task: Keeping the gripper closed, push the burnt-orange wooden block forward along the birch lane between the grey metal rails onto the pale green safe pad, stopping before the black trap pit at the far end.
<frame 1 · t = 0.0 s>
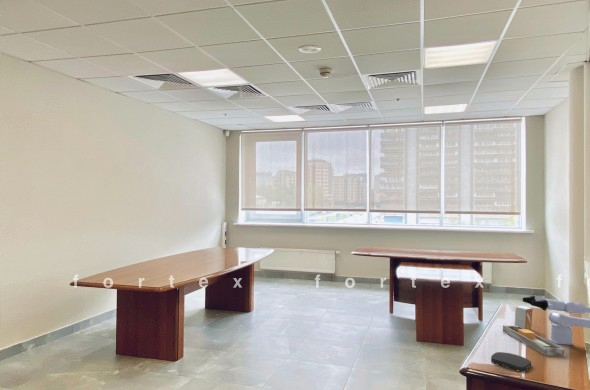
hand: (527, 301, 217), 22 cm above the table, tool horizontal, fingers open, 7 cm apart
orange block: (526, 336, 218), point 2 cm above the table, touching trap lane
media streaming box: (510, 364, 183), on the table
small box: (522, 329, 240), on the table
trap lane: (530, 342, 214), on the table
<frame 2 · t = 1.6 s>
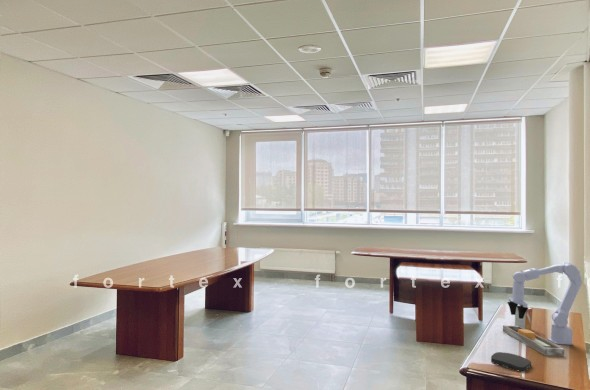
hand: (517, 316, 227), 10 cm above the table, tool pointing down, fingers open, 7 cm apart
nothing on the table moved.
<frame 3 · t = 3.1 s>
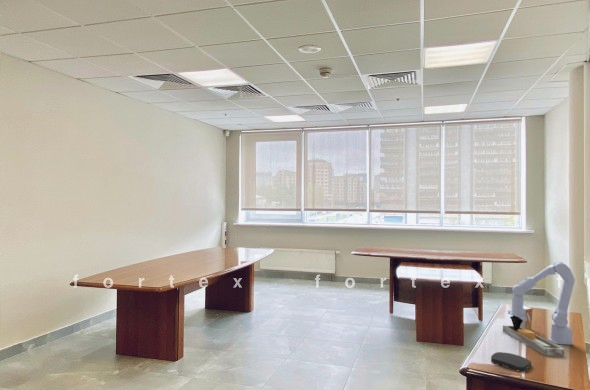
hand: (516, 329, 227), 3 cm above the table, tool pointing down, fingers closed
nothing on the table moved.
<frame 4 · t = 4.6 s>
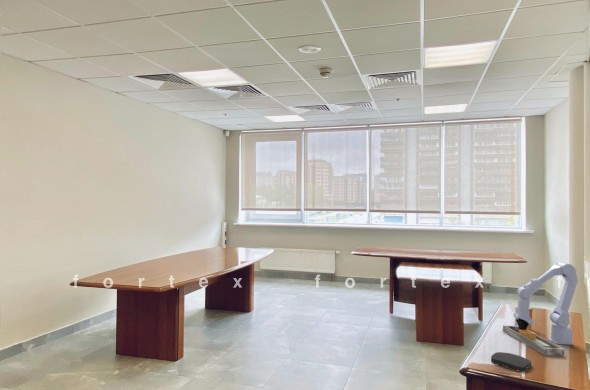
hand: (522, 332, 222), 3 cm above the table, tool pointing down, fingers closed
orange block: (527, 337, 217), point 2 cm above the table, touching gripper, trap lane
everything else where it was.
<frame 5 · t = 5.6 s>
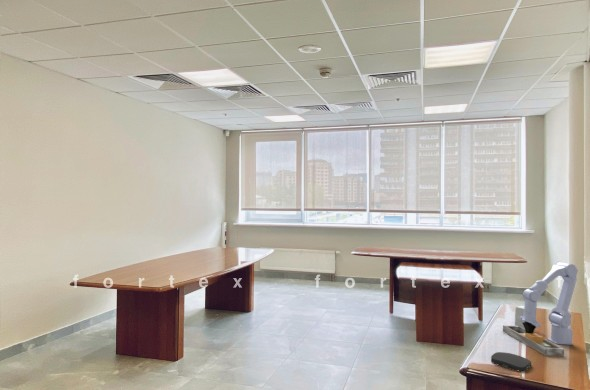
hand: (529, 336, 216), 3 cm above the table, tool pointing down, fingers closed
orange block: (534, 340, 212), point 2 cm above the table, touching gripper, trap lane
everything else where it was.
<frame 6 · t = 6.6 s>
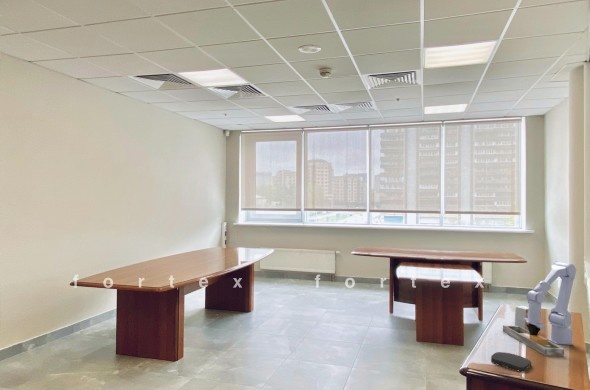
hand: (533, 338, 212), 3 cm above the table, tool pointing down, fingers closed
orange block: (538, 343, 208), point 2 cm above the table, touching gripper, trap lane
everything else where it was.
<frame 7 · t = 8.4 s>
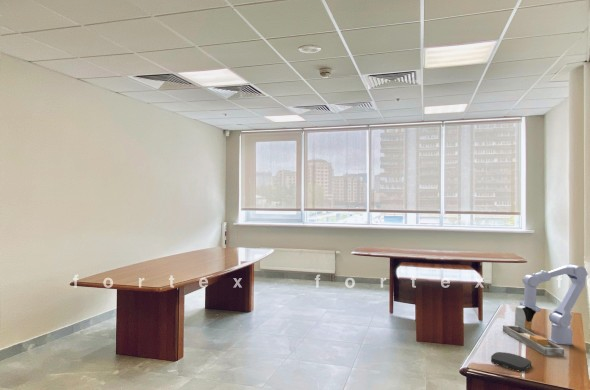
hand: (529, 321, 219), 10 cm above the table, tool pointing down, fingers closed
orange block: (538, 343, 208), point 2 cm above the table, touching trap lane
everything else where it was.
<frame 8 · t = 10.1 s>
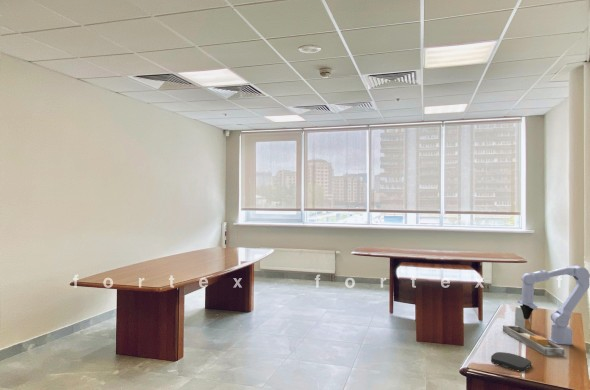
hand: (526, 318, 223), 10 cm above the table, tool pointing down, fingers closed
nothing on the table moved.
at the end: orange block inside the target area on the trap lane (0.3 cm from its centre), point 2.0 cm above the trap lane's base; orange block tilted 0°; orange block moved 10.3 cm from its start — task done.
